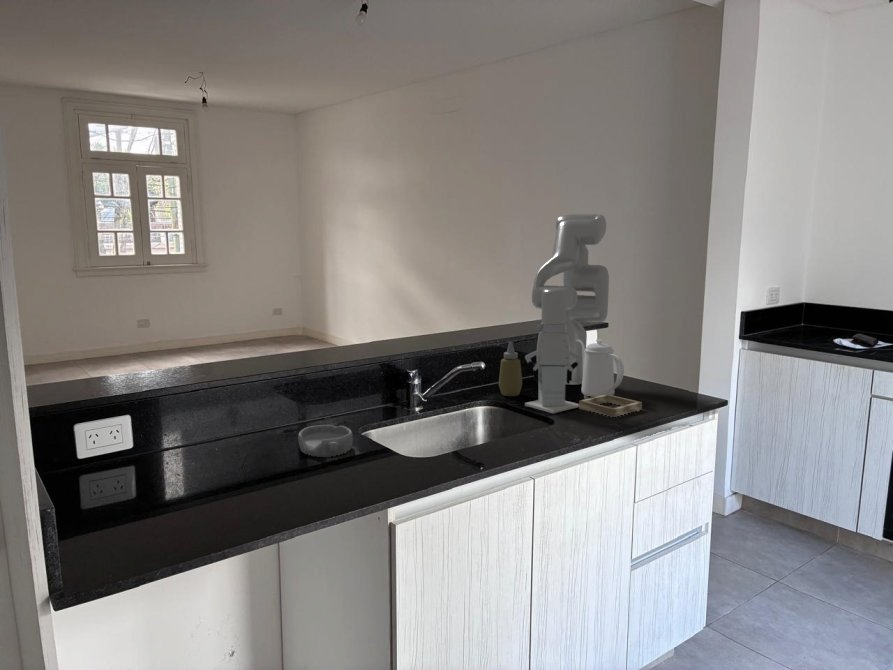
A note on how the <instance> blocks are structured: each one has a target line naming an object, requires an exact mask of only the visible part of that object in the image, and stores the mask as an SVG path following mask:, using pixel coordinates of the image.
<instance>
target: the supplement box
mask: <svg viewBox="0 0 893 670" xmlns="http://www.w3.org/2000/svg"><path fill="white" fill-rule="evenodd" d="M565 371H566V367H565V366H545V365H540V367H539V368H538V389H537V390H538V391H537V392H538V393H537V395H538V396H537V397H538V399H537V400H539V402H540V404H541V405H542V406H565V401H566V384H565Z"/></svg>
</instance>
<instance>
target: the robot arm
mask: <svg viewBox="0 0 893 670" xmlns="http://www.w3.org/2000/svg"><path fill="white" fill-rule="evenodd" d="M555 229H556V232H555V238H554V244H553V251H552V257H551V258H550V259H548V260H547V261H546V262H545V263H544V264H543V265H542V266H541V267H540V268H539V270H538V271H537V273H536V275H535V277H534V280H533V286H532V291H531V302H532V305H533V307H535V308H536V309H539V310H541V322H540V323H539V324H536V329H537V330H540V332H538V335H537V344H536V350H534V351H532V352H530V353H528V354H526V355H525V356H524V359H525V361H526V362H527V364H528V366H529V367H530V368H531V369H532V370H533V381H535V383H536V384H539V367H540V365H545V366H565V367H566V371H565V385H571V386H572V385H573V386H574V385H575V386H576V385H577V386H579V385H580V384H581V385H582V380H583V355H582V345H581V343H580V342H577V341H576V340H581V341H582V342H583V343H584V346H585V349H586V348H587V340H588V339H587V337H588V336H587V332H586V330H585V328H584V326H583V325H582V324H581V323H604V321H606V319H607V317H608V313H609V312H608V309H609V290H610V287H609V286H610V284H609V283H610V276H609V274H610V273H609V271H608V268H607V267H606V266H605V265H603V264H589V249H588V247H587V246H590V245H591V246H593V245H595V246H596V245H598V244H599V243H600V242H601V241H602V240H603V238H604V237H605V234H606V232H607V219H606V218H605V216H604V215H603V214H599V213H598V214H597V213H596V214H595V213H591V214H583V213H582V214H579V213H578V214H577V213H576V214H574V213H572V214H564V215H560V216H559V217H557V218H556V221H555ZM562 273H563V277H562V278H563V282H562V283H563V285H547V284H546V282H547V281H548V280H550V279H551V278H553V277H554V276H557V275H559V274H562ZM545 284H546V285H545ZM578 292H592V293H594V295H585V294H584V295H583V294H578ZM535 356H536V362H535V363H534V362H533V361H532V358H534V357H535Z"/></svg>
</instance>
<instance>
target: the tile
mask: <svg viewBox="0 0 893 670" xmlns="http://www.w3.org/2000/svg"><path fill="white" fill-rule="evenodd" d="M524 407H529V408H533V409H535V410H539V411H543V412H547V413H550V414H557V413H561V412H563V411H569V410H572V409H576V408H579V403H576V402H572V401H567V400H565V406H542V405H541V404H540V402H539V400H538V399H536V400H533V401H532V400H531V401H528V402H524Z"/></svg>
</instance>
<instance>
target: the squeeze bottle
mask: <svg viewBox="0 0 893 670" xmlns="http://www.w3.org/2000/svg"><path fill="white" fill-rule="evenodd" d="M518 356H519V353H518V352H515V348H514V342H513V341H509V342H508V346H507V350H506V351H505V352H503V358H502V359H501V360H500V367H499V376H498V387H499V390H500V393H501V396H506V397H516V396H519V395H520V392H521V390H522V386H523V376H522V366H521V359H519V358H518Z"/></svg>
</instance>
